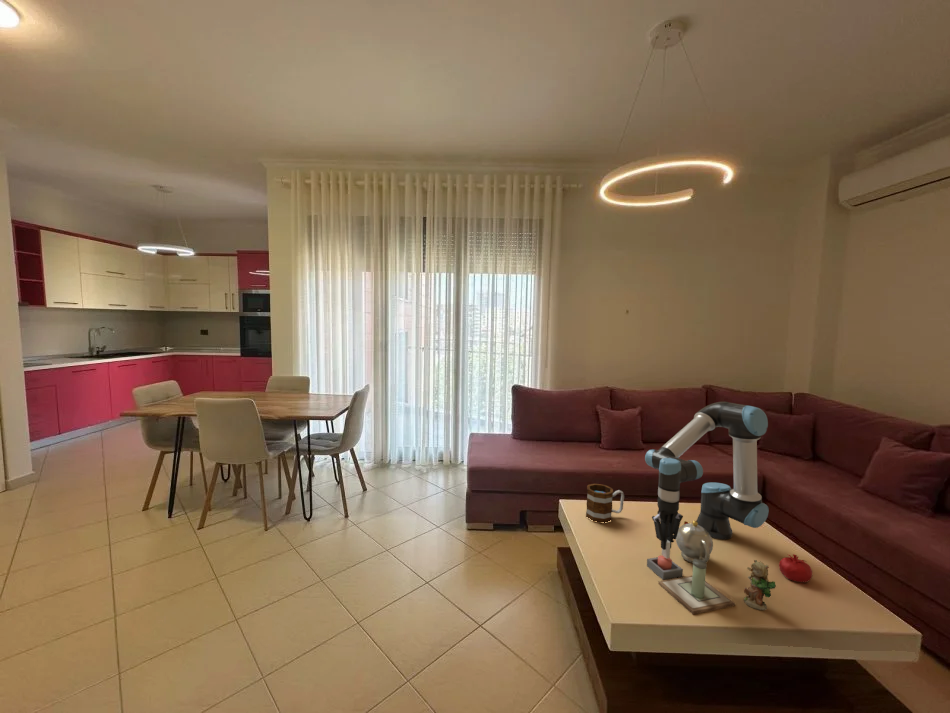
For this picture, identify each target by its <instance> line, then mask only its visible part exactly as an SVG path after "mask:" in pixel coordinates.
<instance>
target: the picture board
mask: <svg viewBox="0 0 950 713" xmlns="http://www.w3.org/2000/svg"><path fill="white" fill-rule="evenodd" d="M657 584H658V585H659V587H661V588H662V589H664V591H666V592H667V593H668V594H669V595H670V596H672V597H673V599H674V600H676V601H677V602H678V603H679V604H681V606H683V607H684V608H685V609H686V610H688V612H690V613H691V614H692V615H696V614H701V613H706V612H711V611H716V610H720V609H726V608H730V607H734V606H736V602H734V601H733V600H732V599H730V598H729V597H728V596H726V595H725V594H724V593H722V592H721V591H720V590H718V589H717V588H715V587H714V586H713V585H712V584H710V583H709V582H708V581H707V580H705V592H704V598H703V599H698V598H696V597H694V596H693V595H692V594H691V589H692V575H687V576H682V577H678V578H672V579H666V580H663V579H662V580H659V581H658V583H657Z"/></svg>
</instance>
